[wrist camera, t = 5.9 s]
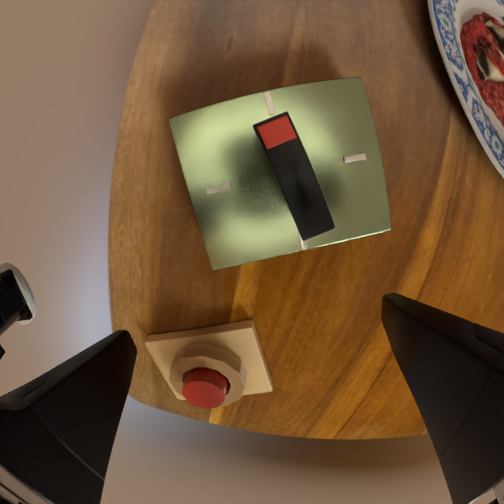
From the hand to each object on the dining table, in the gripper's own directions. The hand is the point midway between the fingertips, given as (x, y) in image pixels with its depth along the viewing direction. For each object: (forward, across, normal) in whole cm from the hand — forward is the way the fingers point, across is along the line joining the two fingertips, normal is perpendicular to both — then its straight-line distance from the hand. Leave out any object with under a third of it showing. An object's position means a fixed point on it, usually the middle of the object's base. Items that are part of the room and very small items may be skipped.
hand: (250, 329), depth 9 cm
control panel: (+12, -3, -4) cm, 13 cm away
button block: (+12, +6, +12) cm, 18 cm away
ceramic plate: (+12, -29, -13) cm, 34 cm away
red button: (+9, +6, +12) cm, 16 cm away
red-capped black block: (+9, -3, -4) cm, 10 cm away
